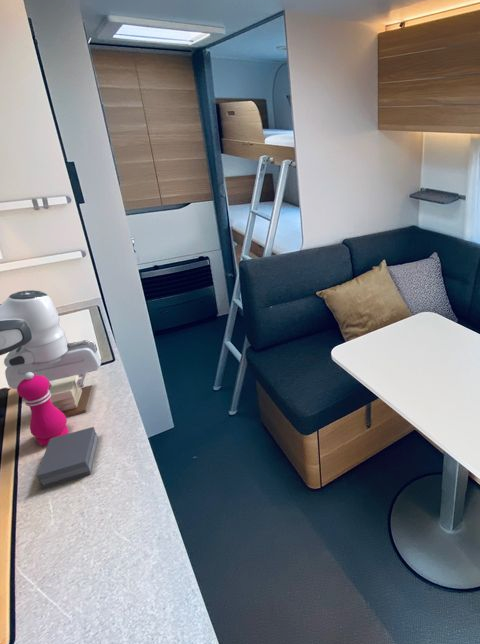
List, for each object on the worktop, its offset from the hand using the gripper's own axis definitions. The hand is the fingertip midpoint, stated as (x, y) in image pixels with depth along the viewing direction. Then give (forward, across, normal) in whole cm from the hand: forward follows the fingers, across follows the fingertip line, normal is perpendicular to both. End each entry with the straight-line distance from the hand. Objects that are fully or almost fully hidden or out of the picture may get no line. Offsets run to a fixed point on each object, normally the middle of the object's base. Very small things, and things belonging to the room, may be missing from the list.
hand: (63, 390), depth 113 cm
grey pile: (+6, -5, +25) cm, 26 cm away
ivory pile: (+6, 0, 0) cm, 6 cm away
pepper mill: (+6, +1, +13) cm, 14 cm away
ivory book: (0, 0, 0) cm, 0 cm away
